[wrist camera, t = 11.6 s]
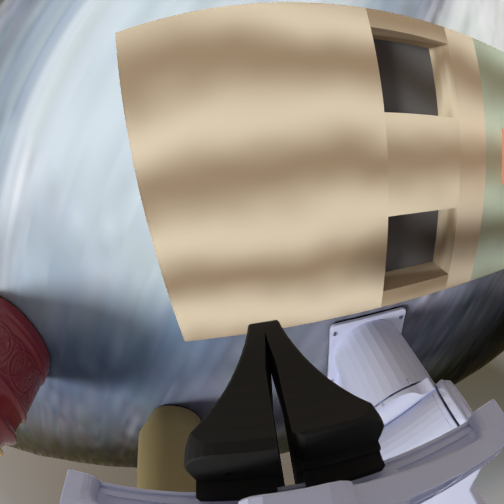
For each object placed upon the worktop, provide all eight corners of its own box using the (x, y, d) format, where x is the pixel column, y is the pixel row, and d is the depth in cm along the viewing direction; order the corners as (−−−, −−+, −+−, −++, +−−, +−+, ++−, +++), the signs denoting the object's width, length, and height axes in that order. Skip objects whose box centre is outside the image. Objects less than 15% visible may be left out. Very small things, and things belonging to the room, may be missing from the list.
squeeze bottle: (153, 430, 31) (140, 547, 15) (135, 396, 28) (109, 537, 11) (212, 432, 31) (215, 556, 15) (204, 399, 28) (203, 552, 12)
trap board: (508, 250, 24) (532, 266, 20) (188, 318, 23) (182, 354, 19) (512, 67, 15) (540, 68, 11) (130, 44, 14) (106, 26, 10)
